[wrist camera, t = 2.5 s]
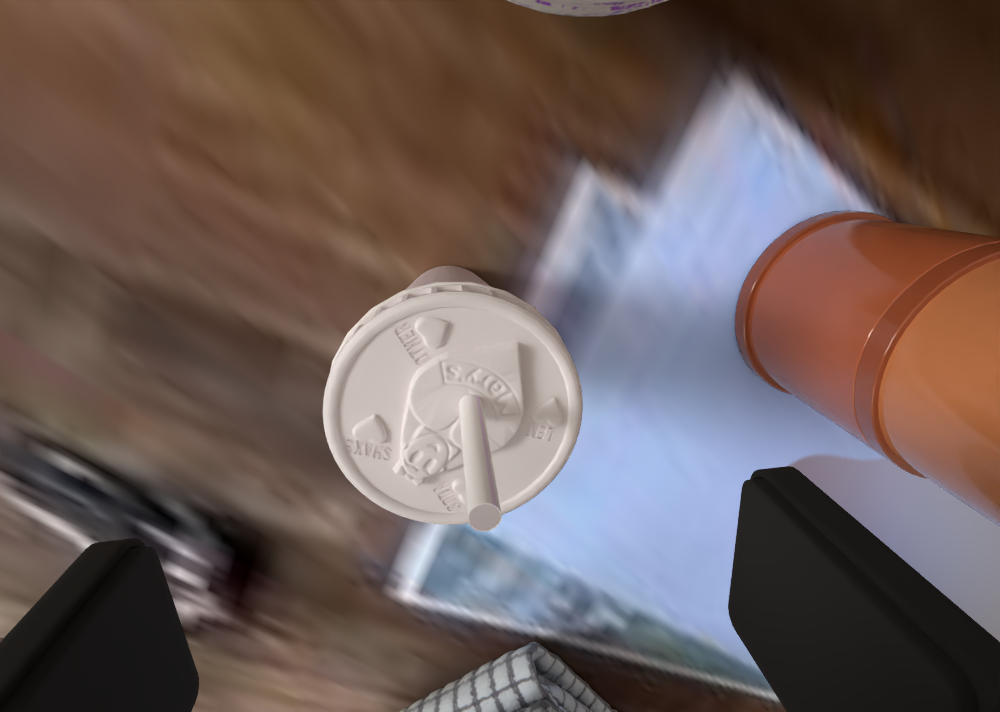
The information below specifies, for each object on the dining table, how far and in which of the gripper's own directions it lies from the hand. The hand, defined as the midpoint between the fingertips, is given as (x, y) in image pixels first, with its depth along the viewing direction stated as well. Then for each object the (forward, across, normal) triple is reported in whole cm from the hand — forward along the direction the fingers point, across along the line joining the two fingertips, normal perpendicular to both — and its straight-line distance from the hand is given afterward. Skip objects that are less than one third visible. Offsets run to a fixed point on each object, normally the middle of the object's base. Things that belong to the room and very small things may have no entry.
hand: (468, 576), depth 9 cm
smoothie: (+15, 0, -1) cm, 15 cm away
